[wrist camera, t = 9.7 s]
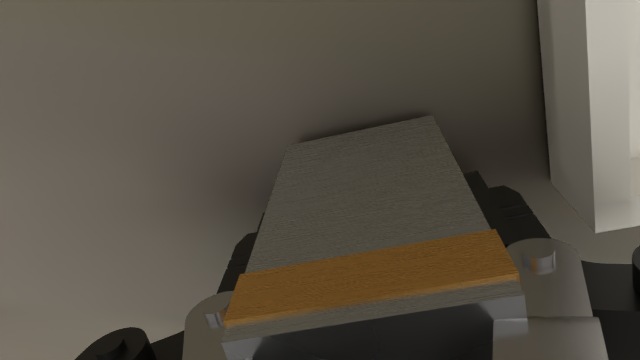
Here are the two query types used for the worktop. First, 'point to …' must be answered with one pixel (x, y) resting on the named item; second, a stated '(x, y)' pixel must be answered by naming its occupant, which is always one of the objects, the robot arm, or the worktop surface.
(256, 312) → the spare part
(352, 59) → the worktop surface
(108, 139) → the worktop surface
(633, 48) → the tray
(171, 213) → the worktop surface
